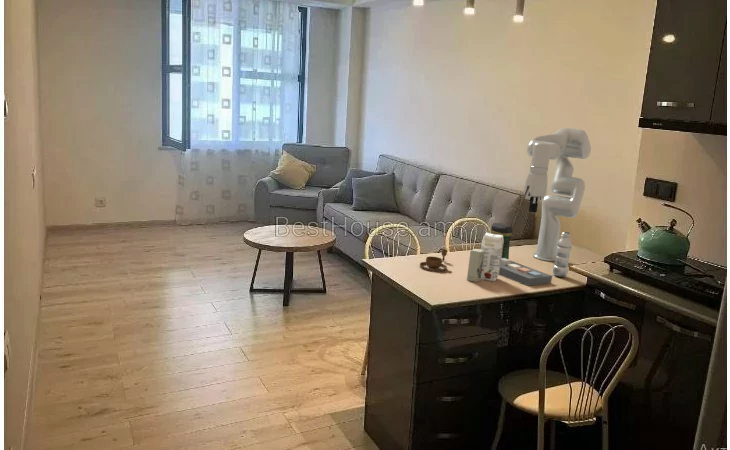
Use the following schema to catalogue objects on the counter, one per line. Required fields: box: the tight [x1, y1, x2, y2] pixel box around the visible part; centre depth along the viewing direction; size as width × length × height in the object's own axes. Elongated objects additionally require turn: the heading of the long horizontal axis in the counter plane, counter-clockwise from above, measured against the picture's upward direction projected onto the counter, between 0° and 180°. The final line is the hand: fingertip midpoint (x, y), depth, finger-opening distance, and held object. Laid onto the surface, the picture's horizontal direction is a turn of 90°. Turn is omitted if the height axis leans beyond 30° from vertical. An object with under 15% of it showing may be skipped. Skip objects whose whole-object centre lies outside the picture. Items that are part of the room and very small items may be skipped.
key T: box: [517, 268, 531, 274], centre depth 275 cm, size 4×4×2 cm
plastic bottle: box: [552, 231, 573, 278], centre depth 282 cm, size 6×7×20 cm
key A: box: [507, 264, 521, 270], centre depth 280 cm, size 4×4×2 cm
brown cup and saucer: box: [419, 248, 453, 275], centre depth 280 cm, size 18×20×6 cm
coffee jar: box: [490, 222, 513, 260], centre depth 296 cm, size 10×8×19 cm
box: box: [466, 248, 484, 283], centre depth 264 cm, size 5×4×13 cm
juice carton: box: [480, 232, 504, 282], centre depth 268 cm, size 8×9×19 cm
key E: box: [528, 271, 542, 277], centre depth 270 cm, size 4×4×2 cm
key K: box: [501, 258, 512, 265], centre depth 284 cm, size 4×4×2 cm
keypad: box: [499, 260, 553, 287], centre depth 278 cm, size 14×25×3 cm, turn 33°
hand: (532, 211), depth 283 cm, fingers closed
